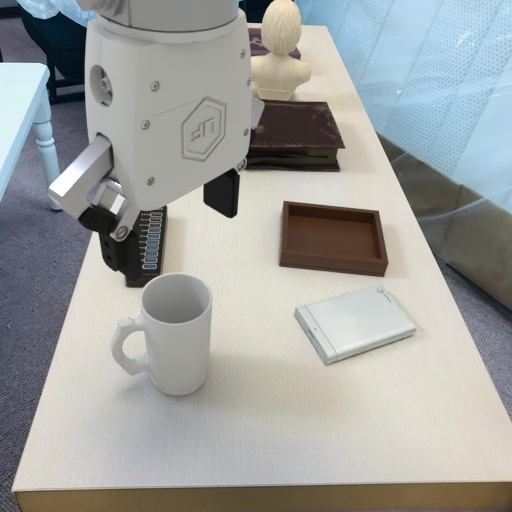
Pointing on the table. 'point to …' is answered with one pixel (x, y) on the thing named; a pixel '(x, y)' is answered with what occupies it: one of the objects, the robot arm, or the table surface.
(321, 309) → the hard drive
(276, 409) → the table surface
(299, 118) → the diary
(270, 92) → the figurine
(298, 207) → the shallow brown tray
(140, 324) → the mug
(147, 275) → the multiport hub
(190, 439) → the table surface
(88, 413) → the table surface
